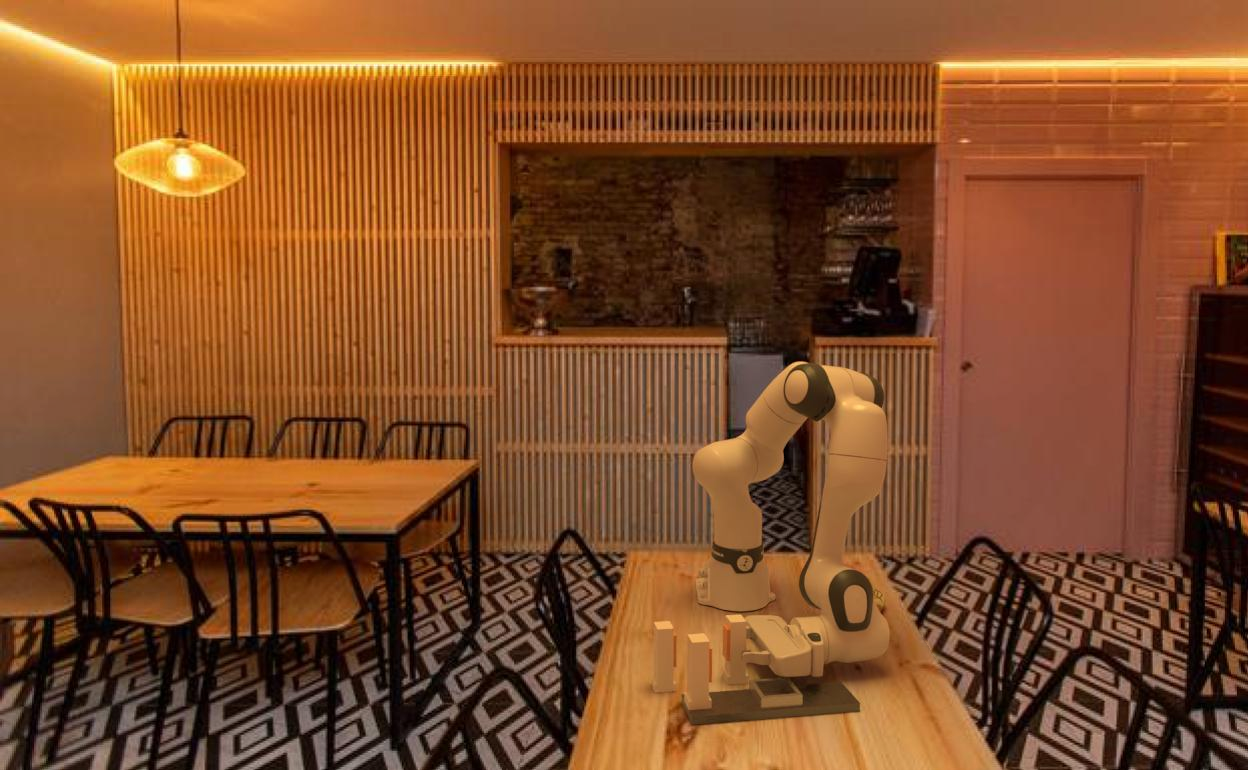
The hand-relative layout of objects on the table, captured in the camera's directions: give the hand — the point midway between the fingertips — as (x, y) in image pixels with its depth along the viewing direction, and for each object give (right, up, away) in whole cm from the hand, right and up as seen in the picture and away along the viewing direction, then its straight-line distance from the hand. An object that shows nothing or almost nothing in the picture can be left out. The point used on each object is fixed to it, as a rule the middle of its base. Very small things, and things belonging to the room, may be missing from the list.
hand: (734, 646), depth 156 cm
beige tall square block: (0, -7, +1) cm, 7 cm away
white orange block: (-13, -7, -2) cm, 15 cm away
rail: (+5, -8, -10) cm, 13 cm away
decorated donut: (+34, -3, +37) cm, 50 cm away
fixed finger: (-8, -6, -12) cm, 16 cm away
